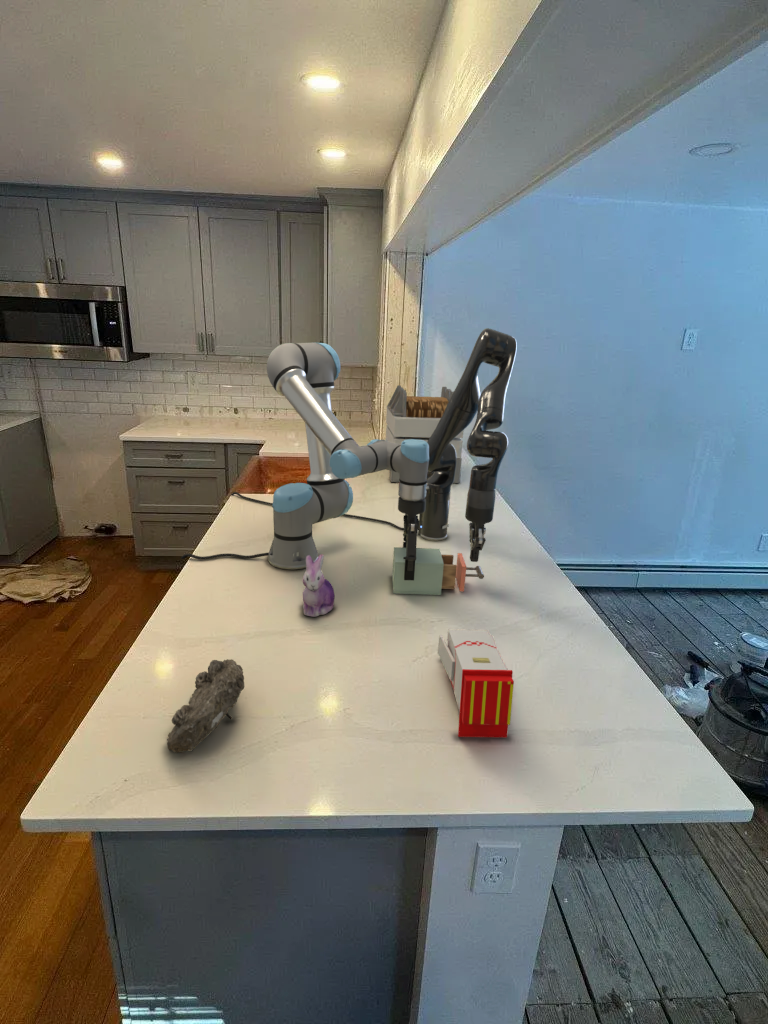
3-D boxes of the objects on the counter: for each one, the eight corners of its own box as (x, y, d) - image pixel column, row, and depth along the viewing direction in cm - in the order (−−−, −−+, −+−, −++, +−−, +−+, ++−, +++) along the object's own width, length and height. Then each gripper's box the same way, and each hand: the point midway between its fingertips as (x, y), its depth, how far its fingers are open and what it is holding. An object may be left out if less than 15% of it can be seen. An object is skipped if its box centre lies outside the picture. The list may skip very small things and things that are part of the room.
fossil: (192, 660, 117) (244, 628, 112) (224, 691, 120) (276, 661, 115) (142, 746, 98) (202, 712, 93) (182, 779, 101) (242, 748, 96)
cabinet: (437, 578, 168) (439, 548, 165) (441, 594, 158) (443, 563, 155) (392, 577, 168) (393, 547, 164) (393, 593, 158) (395, 562, 155)
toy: (488, 613, 130) (523, 677, 101) (484, 667, 133) (517, 744, 104) (435, 612, 130) (455, 676, 101) (432, 666, 133) (451, 743, 103)
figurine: (307, 621, 142) (307, 567, 137) (294, 603, 150) (293, 551, 145) (342, 614, 146) (343, 561, 141) (327, 596, 154) (328, 545, 149)
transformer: (382, 463, 289) (386, 382, 275) (445, 464, 293) (451, 384, 279) (390, 482, 257) (394, 392, 243) (460, 483, 261) (468, 394, 247)
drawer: (478, 577, 167) (480, 553, 165) (483, 592, 159) (486, 567, 156) (418, 575, 167) (420, 551, 164) (420, 590, 158) (422, 565, 156)
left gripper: (430, 511, 143) (424, 590, 151) (422, 485, 165) (418, 555, 172) (400, 510, 143) (396, 589, 151) (396, 484, 164) (393, 554, 172)
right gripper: (498, 512, 149) (491, 571, 155) (489, 496, 161) (482, 551, 167) (470, 511, 148) (463, 570, 154) (463, 494, 161) (457, 550, 167)
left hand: (407, 571), depth 161 cm, fingers closed on cabinet, 10 cm apart
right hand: (473, 560), depth 161 cm, fingers closed
